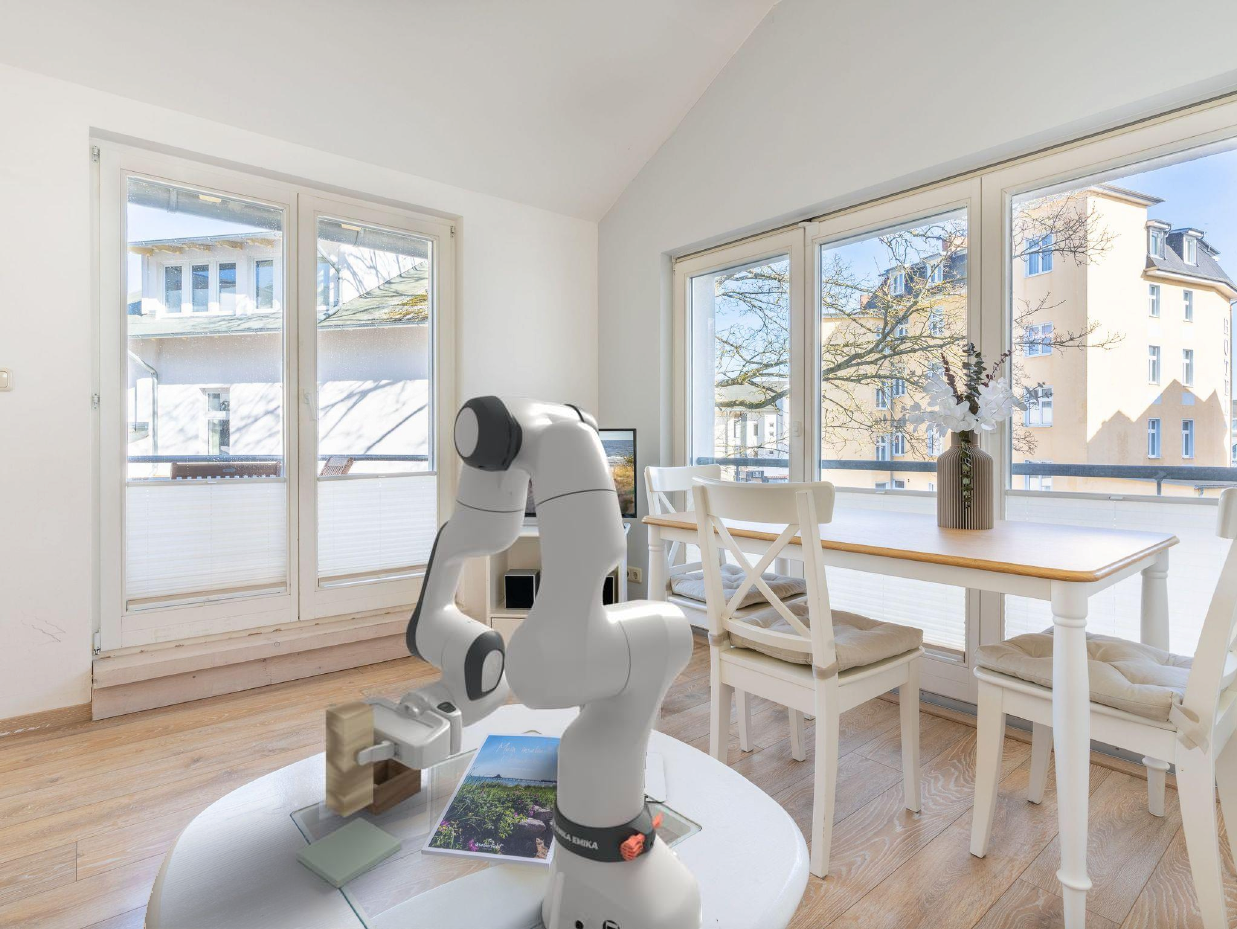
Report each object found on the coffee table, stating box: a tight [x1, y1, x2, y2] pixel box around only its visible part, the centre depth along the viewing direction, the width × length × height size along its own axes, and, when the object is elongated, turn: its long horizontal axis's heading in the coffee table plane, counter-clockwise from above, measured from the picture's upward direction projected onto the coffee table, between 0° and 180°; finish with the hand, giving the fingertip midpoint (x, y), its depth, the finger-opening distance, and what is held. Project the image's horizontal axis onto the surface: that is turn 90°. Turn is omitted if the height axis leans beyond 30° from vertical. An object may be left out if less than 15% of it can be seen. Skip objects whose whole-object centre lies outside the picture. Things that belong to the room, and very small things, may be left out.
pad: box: [296, 816, 403, 889], centre depth 91 cm, size 10×10×1 cm
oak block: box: [325, 698, 374, 818], centre depth 90 cm, size 4×4×14 cm
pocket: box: [362, 758, 422, 816], centre depth 106 cm, size 8×8×4 cm
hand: (344, 752), depth 90 cm, fingers closed on oak block, 4 cm apart
